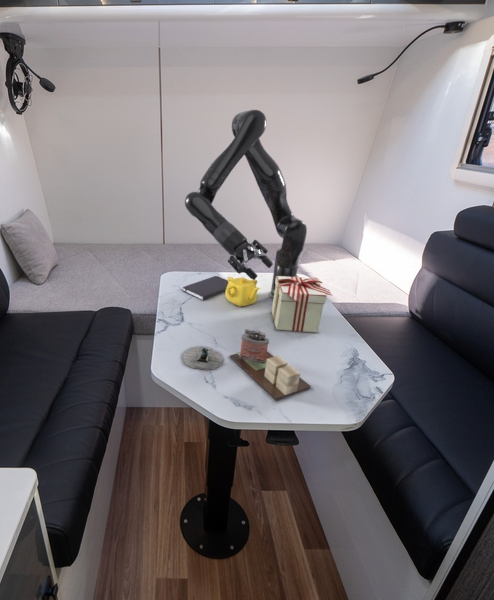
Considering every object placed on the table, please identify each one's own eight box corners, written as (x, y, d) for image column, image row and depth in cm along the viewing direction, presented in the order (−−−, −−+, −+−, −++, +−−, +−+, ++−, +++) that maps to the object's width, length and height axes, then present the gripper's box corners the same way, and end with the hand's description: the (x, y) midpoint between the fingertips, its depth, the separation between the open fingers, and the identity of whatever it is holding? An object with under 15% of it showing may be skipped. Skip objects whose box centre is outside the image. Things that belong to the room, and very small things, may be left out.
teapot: (259, 297, 156) (262, 274, 151) (258, 311, 144) (260, 286, 140) (226, 293, 158) (228, 271, 154) (222, 306, 147) (224, 282, 143)
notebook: (202, 300, 152) (236, 287, 165) (202, 296, 151) (237, 283, 164) (181, 290, 161) (215, 278, 173) (181, 287, 160) (216, 275, 173)
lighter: (266, 358, 114) (270, 330, 109) (265, 365, 111) (269, 336, 106) (240, 353, 116) (243, 325, 112) (238, 359, 113) (241, 330, 109)
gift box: (278, 336, 128) (286, 290, 120) (267, 311, 144) (273, 270, 137) (328, 337, 128) (338, 291, 120) (311, 312, 144) (319, 271, 137)
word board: (261, 348, 121) (263, 330, 118) (310, 388, 103) (314, 368, 100) (229, 357, 116) (231, 338, 113) (276, 400, 98) (279, 380, 95)
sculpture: (228, 367, 111) (213, 354, 107) (204, 386, 113) (189, 373, 108) (214, 344, 121) (200, 331, 117) (193, 362, 123) (178, 349, 118)
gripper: (219, 239, 117) (255, 275, 114) (247, 222, 125) (281, 255, 121) (211, 253, 124) (245, 288, 120) (238, 236, 131) (270, 268, 128)
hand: (263, 272), depth 121 cm, fingers open, 8 cm apart
